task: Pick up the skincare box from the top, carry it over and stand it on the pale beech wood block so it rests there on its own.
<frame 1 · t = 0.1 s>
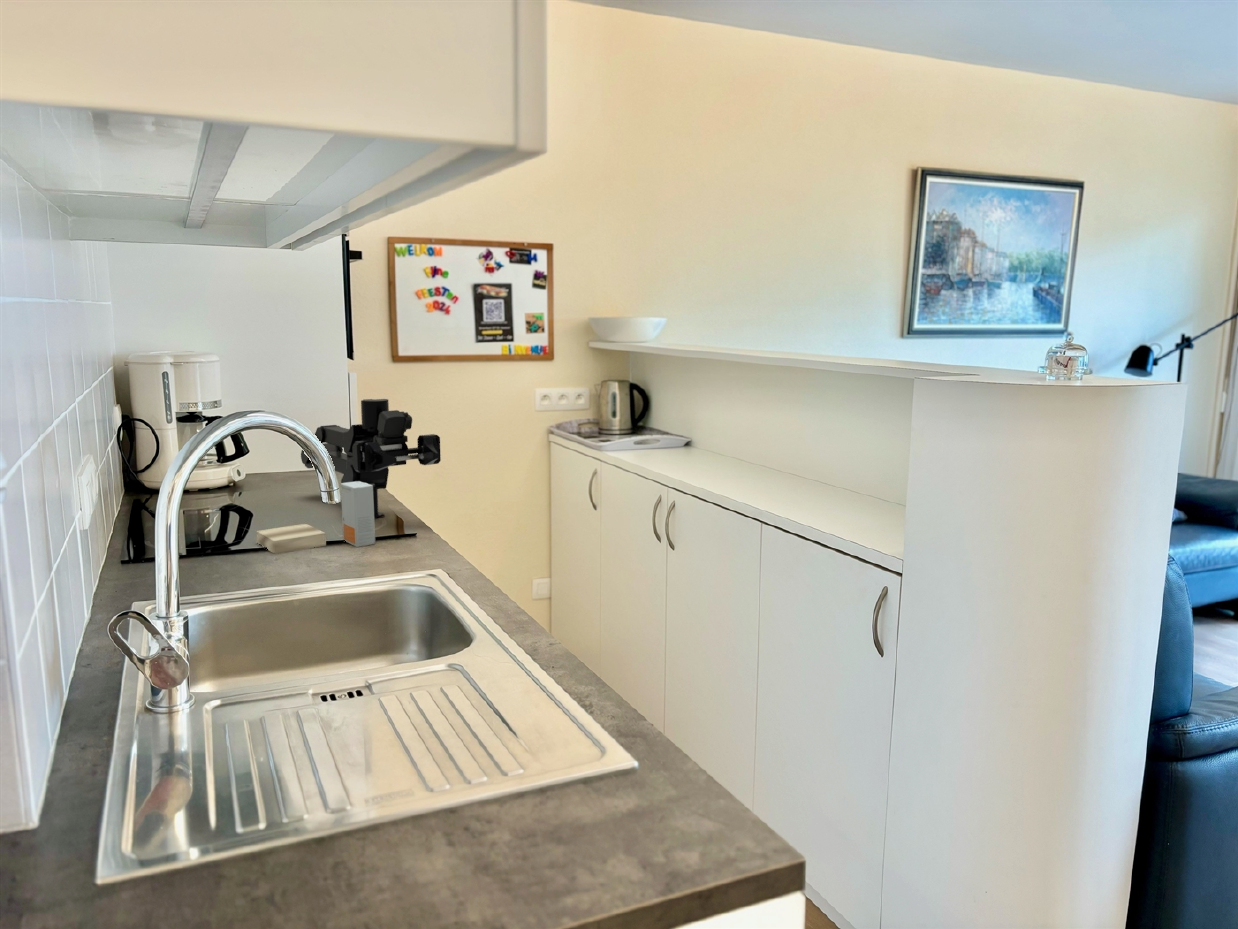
hand: (417, 458, 181), 17 cm above the cooktop, tool horizontal, fingers open, 9 cm apart
beech block: (291, 546, 178), on the cooktop
skincare box: (359, 543, 180), on the cooktop
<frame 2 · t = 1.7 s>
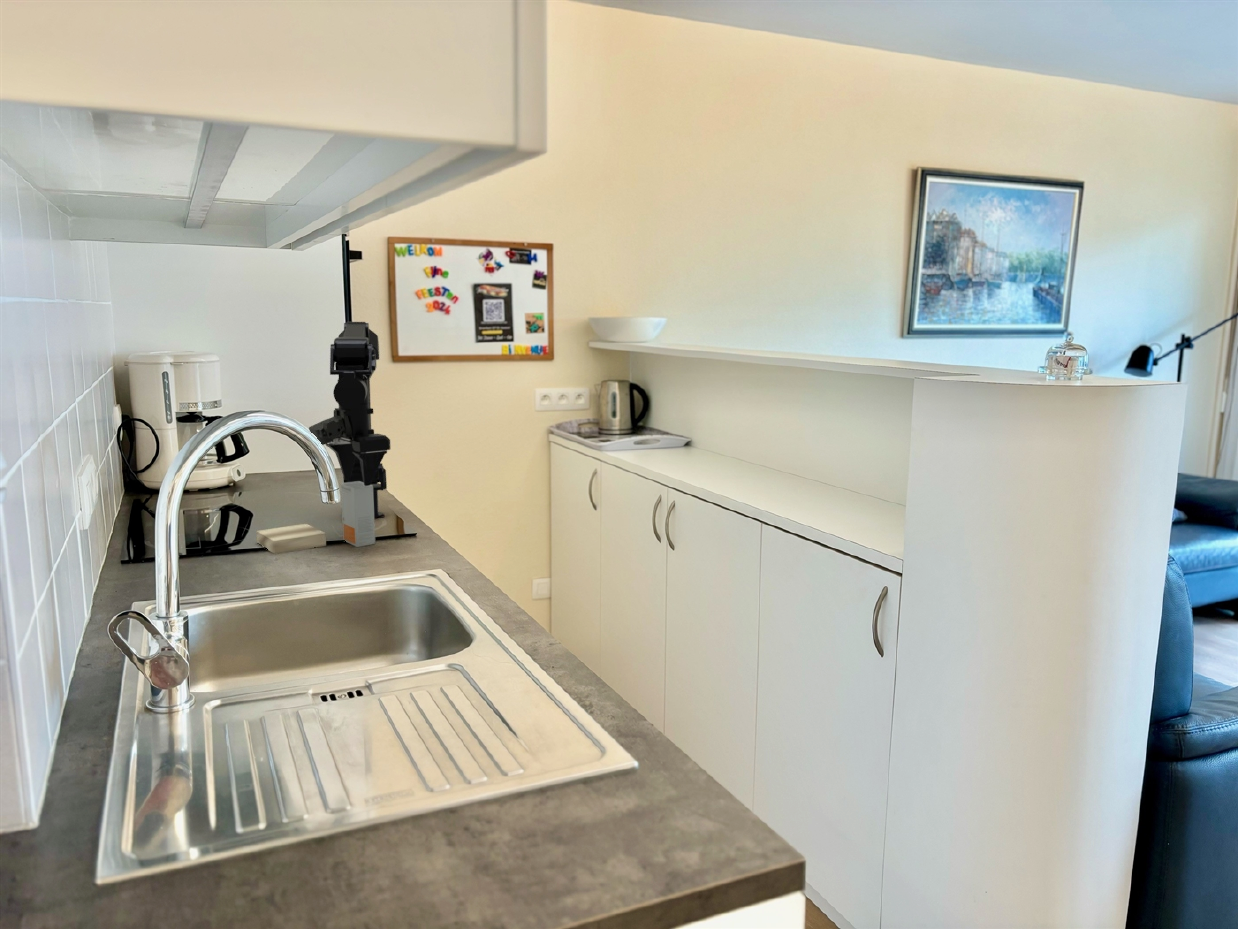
hand: (357, 482, 178), 12 cm above the cooktop, tool pointing down, fingers open, 9 cm apart
nothing on the cooktop moved.
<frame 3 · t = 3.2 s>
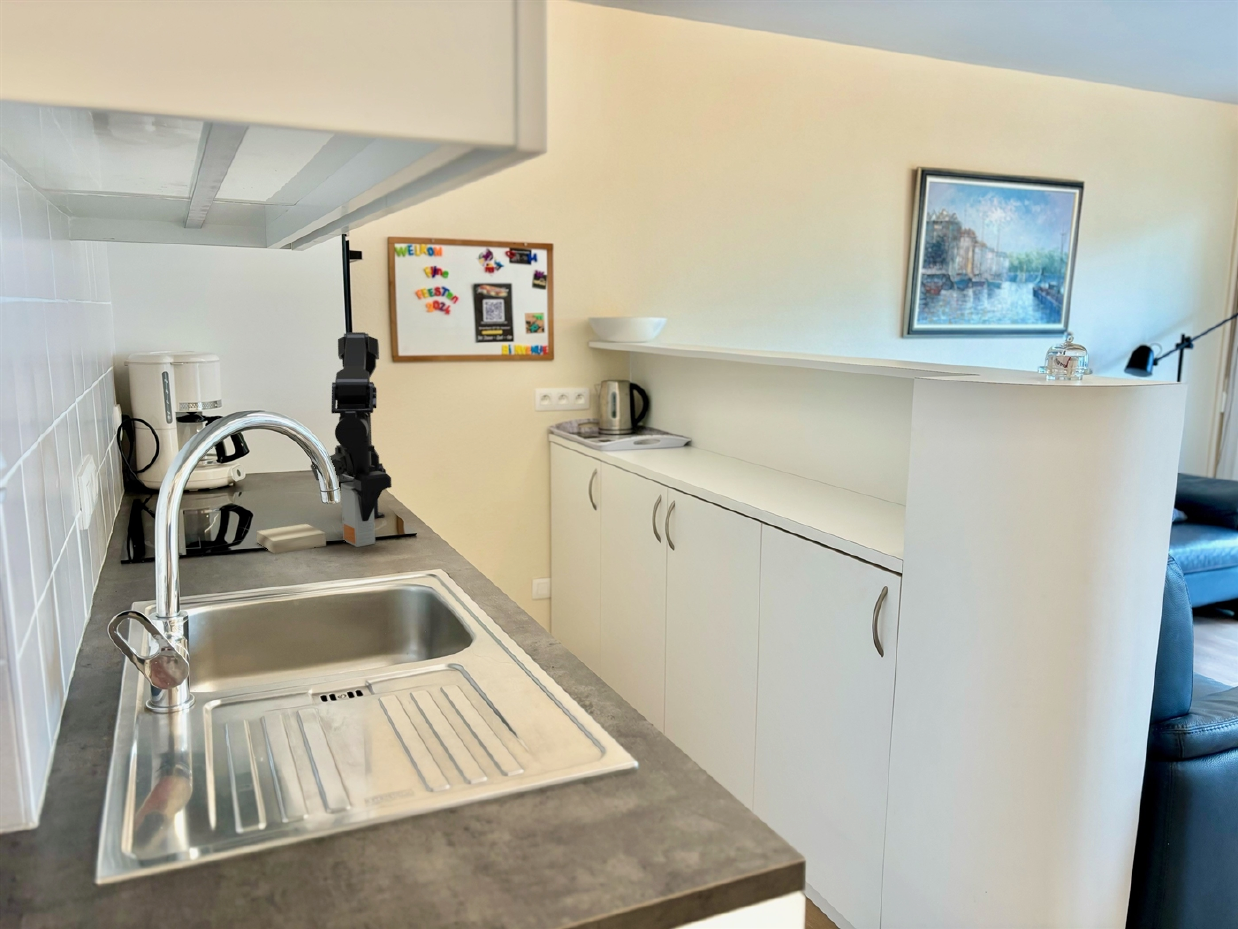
hand: (358, 518, 179), 5 cm above the cooktop, tool pointing down, fingers closed on skincare box, 6 cm apart
skincare box: (359, 543, 180), on the cooktop, touching gripper
everything else where it was.
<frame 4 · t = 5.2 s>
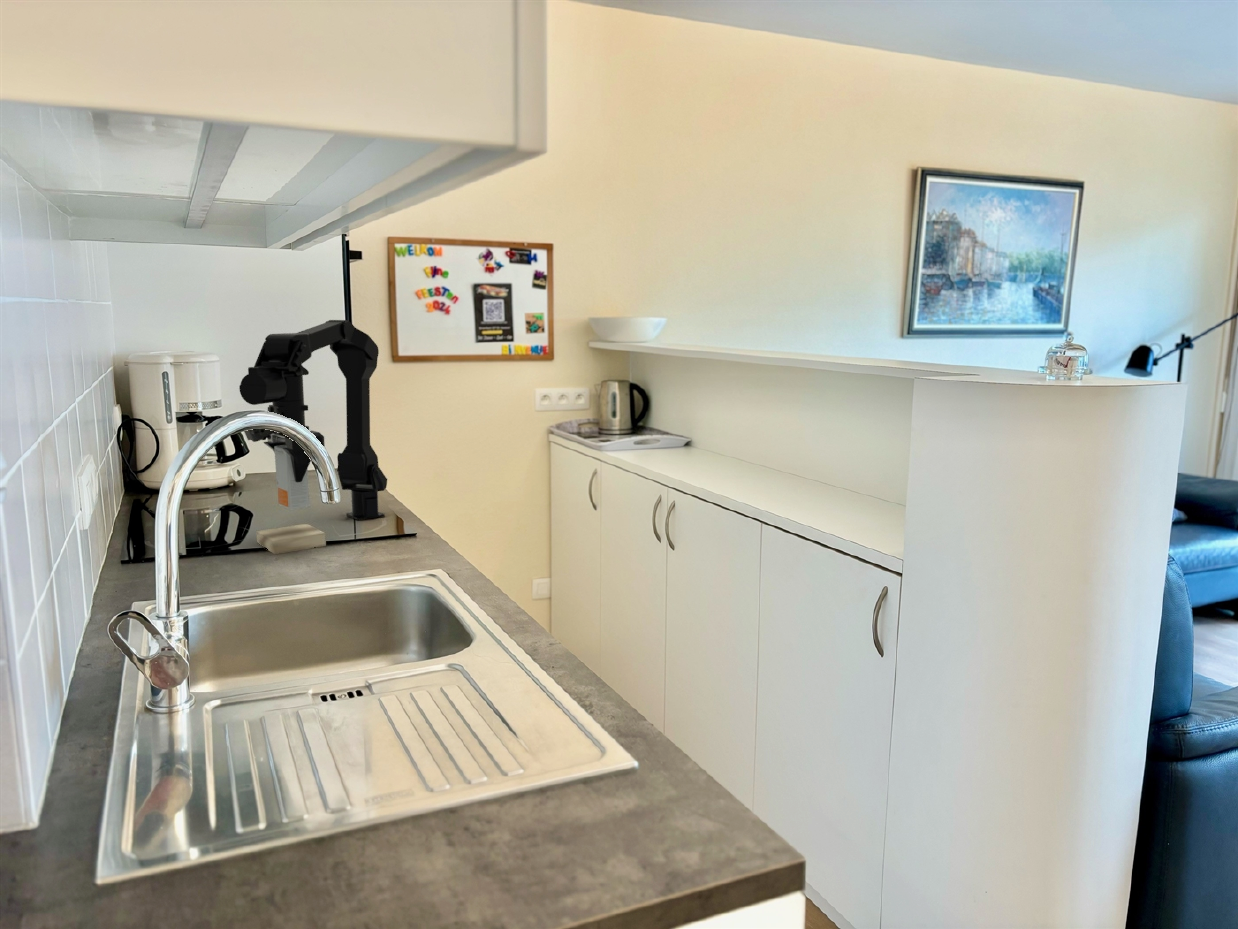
hand: (292, 479, 176), 13 cm above the cooktop, tool pointing down, fingers closed on skincare box, 6 cm apart
skincare box: (294, 507, 177), point 7 cm above the cooktop, touching gripper
everything else where it was.
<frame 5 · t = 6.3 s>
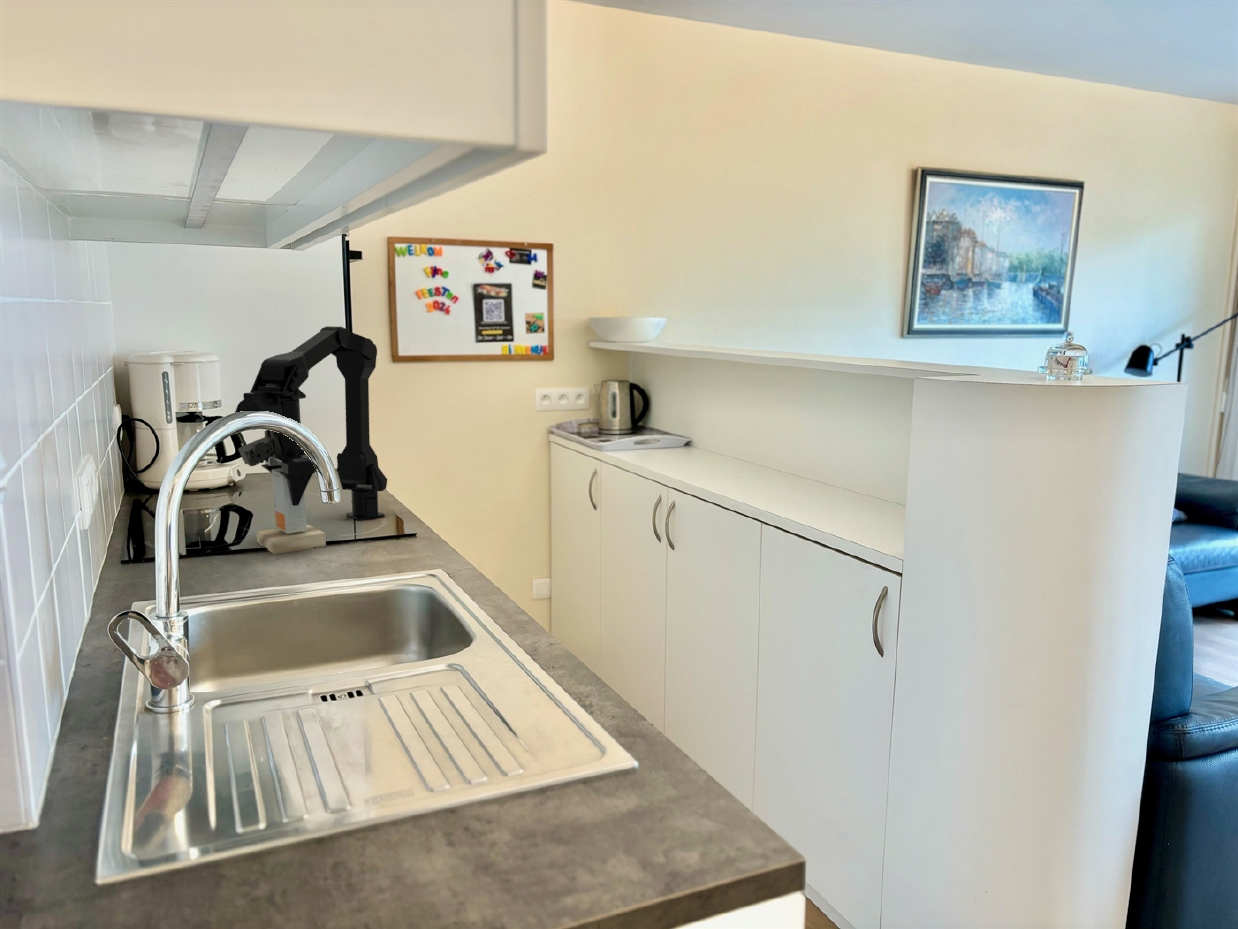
hand: (289, 502, 177), 8 cm above the cooktop, tool pointing down, fingers closed on skincare box, 6 cm apart
skincare box: (291, 530, 178), point 3 cm above the cooktop, touching gripper
everything else where it was.
when the fingers open (8 cm above the cooktop, at t = 7.2 s): skincare box stays where it is, resting on beech block.
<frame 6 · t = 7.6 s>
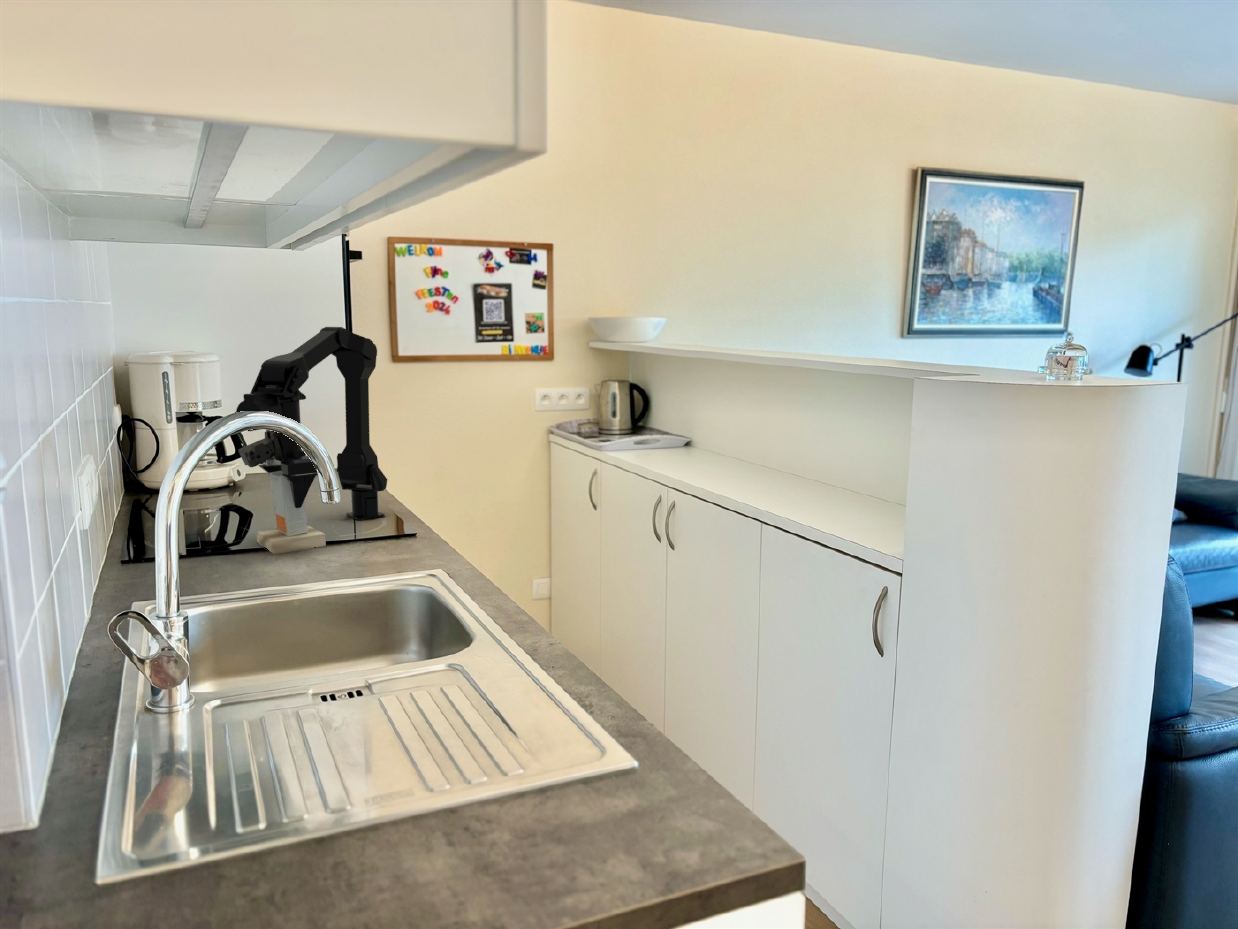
hand: (289, 503, 177), 8 cm above the cooktop, tool pointing down, fingers open, 9 cm apart
beech block: (291, 547, 178), on the cooktop, touching skincare box
skincare box: (292, 532, 178), point 2 cm above the cooktop, touching beech block
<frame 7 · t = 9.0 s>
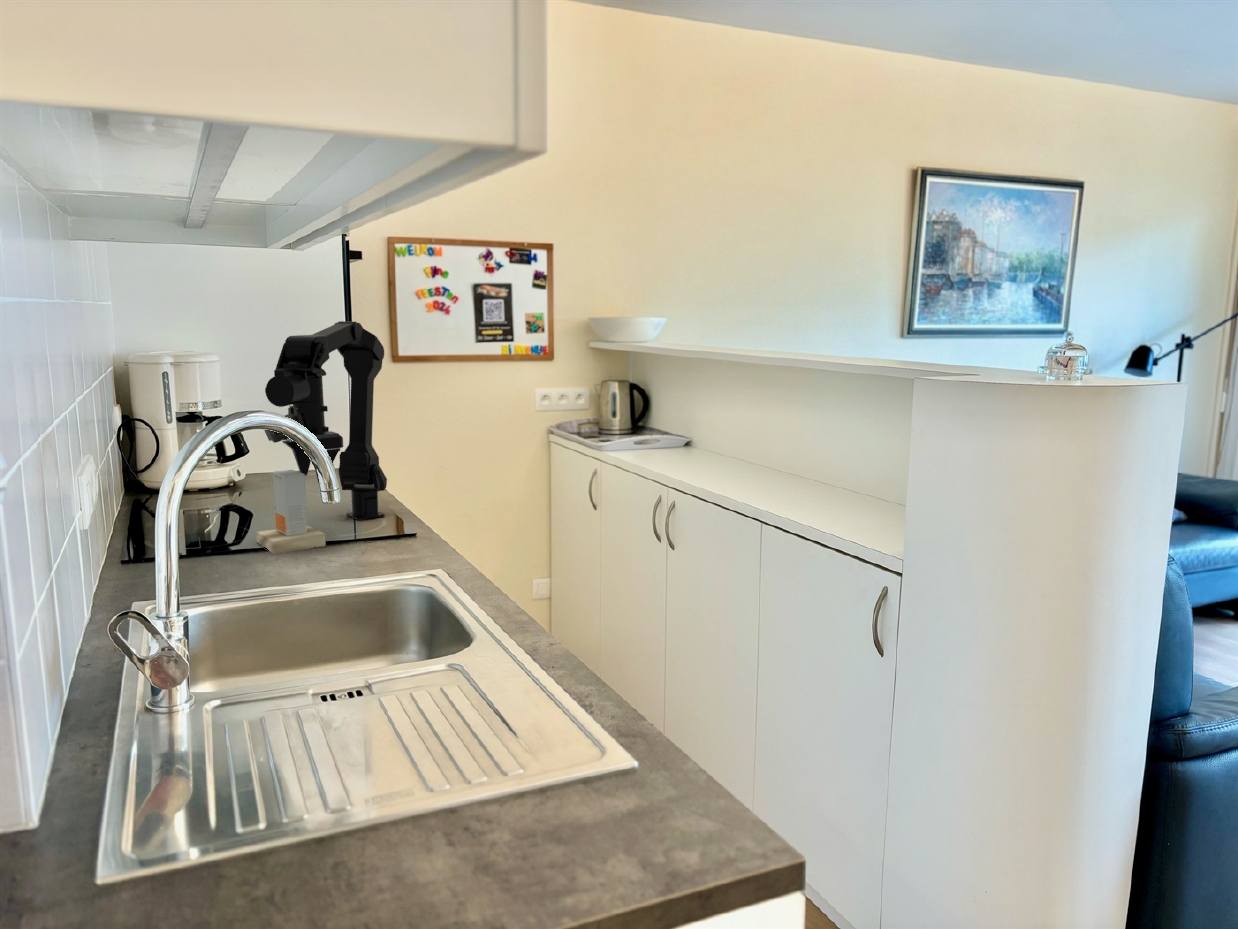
hand: (312, 479, 178), 13 cm above the cooktop, tool pointing down, fingers open, 9 cm apart
nothing on the cooktop moved.
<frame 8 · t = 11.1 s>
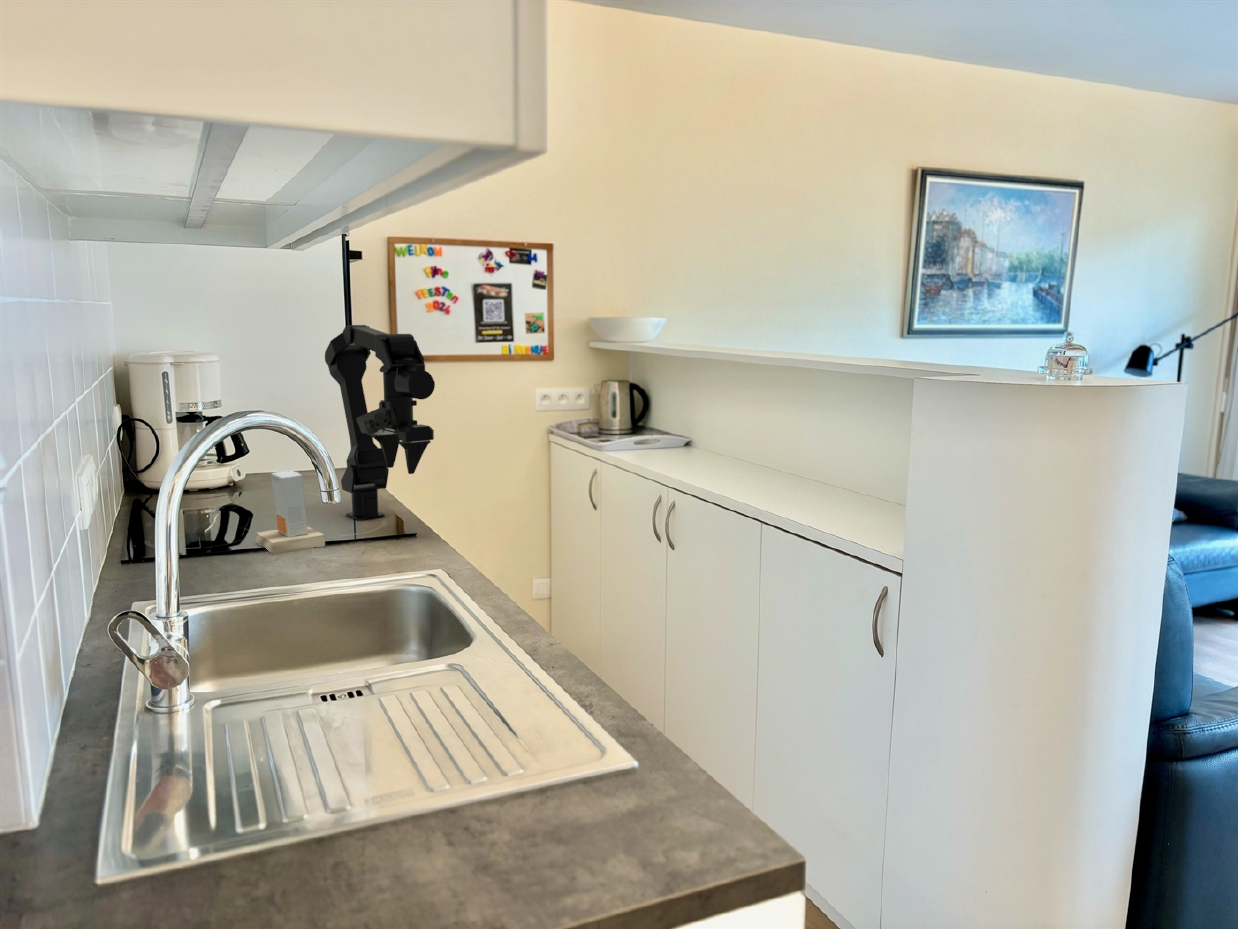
hand: (400, 470, 187), 13 cm above the cooktop, tool pointing down, fingers open, 9 cm apart
nothing on the cooktop moved.
at the end: skincare box inside the target area on the beech block (0.8 cm from its centre), point 3.0 cm above the beech block's base; skincare box tilted 6°; skincare box touching nothing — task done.
